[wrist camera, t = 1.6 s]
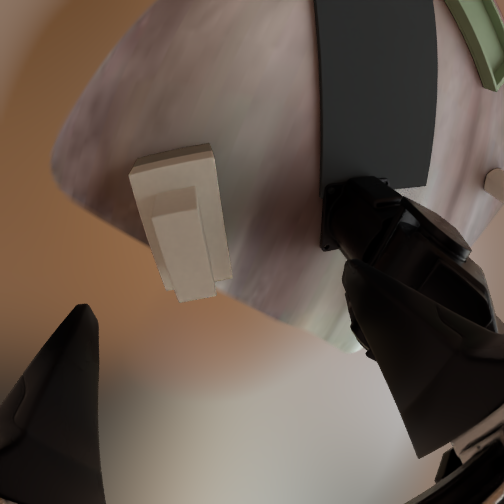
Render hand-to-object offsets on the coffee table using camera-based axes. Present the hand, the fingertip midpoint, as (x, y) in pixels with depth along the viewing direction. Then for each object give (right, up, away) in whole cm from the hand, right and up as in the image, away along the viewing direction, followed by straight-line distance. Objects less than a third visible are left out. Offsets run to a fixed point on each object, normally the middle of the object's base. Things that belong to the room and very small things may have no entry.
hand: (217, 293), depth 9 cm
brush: (-4, +5, +11) cm, 13 cm away
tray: (+25, +25, +4) cm, 35 cm away
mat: (+12, +15, +8) cm, 20 cm away
